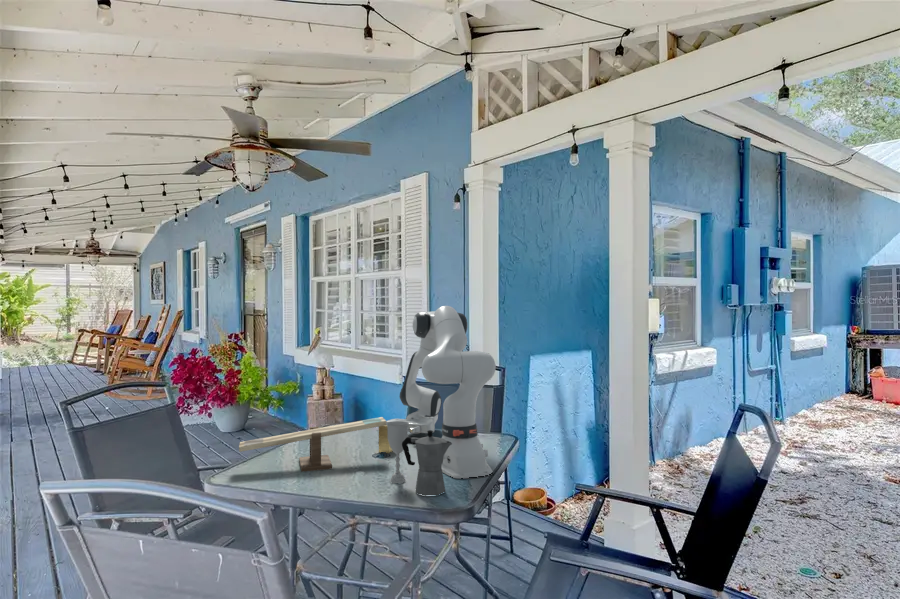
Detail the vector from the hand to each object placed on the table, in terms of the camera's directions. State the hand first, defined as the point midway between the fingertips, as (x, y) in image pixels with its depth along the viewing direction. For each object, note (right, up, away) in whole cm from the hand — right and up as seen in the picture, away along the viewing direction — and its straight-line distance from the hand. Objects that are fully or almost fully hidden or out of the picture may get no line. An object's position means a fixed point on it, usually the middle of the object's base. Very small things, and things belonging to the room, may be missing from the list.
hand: (401, 429), depth 215 cm
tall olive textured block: (-4, -5, -11) cm, 13 cm away
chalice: (+3, -5, -47) cm, 47 cm away
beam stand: (-27, -5, -28) cm, 40 cm away
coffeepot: (+13, -5, -56) cm, 58 cm away
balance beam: (-27, +5, -28) cm, 39 cm away
